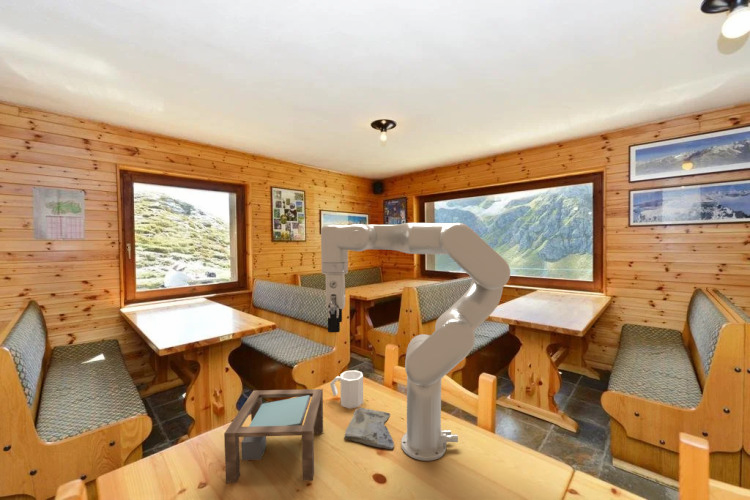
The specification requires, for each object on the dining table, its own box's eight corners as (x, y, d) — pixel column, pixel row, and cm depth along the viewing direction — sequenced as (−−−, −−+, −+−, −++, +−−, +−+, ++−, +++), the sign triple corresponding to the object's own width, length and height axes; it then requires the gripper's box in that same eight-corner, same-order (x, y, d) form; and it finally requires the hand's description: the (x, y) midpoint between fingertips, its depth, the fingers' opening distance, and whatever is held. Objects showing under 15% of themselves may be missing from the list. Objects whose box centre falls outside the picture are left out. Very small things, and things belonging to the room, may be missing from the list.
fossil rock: (354, 412, 111) (354, 405, 111) (398, 416, 108) (399, 409, 108) (341, 445, 94) (341, 437, 93) (393, 451, 91) (393, 443, 91)
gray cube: (265, 430, 92) (247, 430, 92) (260, 441, 87) (241, 442, 87) (266, 447, 93) (248, 447, 92) (260, 459, 88) (241, 460, 87)
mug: (365, 397, 120) (365, 371, 119) (360, 409, 111) (360, 381, 111) (334, 394, 122) (334, 368, 122) (326, 406, 114) (326, 378, 113)
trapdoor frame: (323, 428, 101) (322, 389, 100) (312, 480, 80) (311, 431, 79) (254, 430, 100) (253, 390, 100) (225, 482, 79) (224, 433, 79)
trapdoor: (310, 398, 97) (310, 394, 97) (302, 426, 83) (301, 422, 83) (262, 406, 96) (262, 403, 96) (245, 436, 82) (244, 433, 82)
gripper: (346, 271, 85) (346, 336, 86) (349, 264, 102) (349, 318, 104) (317, 272, 85) (318, 336, 86) (325, 264, 102) (325, 318, 103)
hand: (335, 326), depth 95 cm, fingers open, 9 cm apart
